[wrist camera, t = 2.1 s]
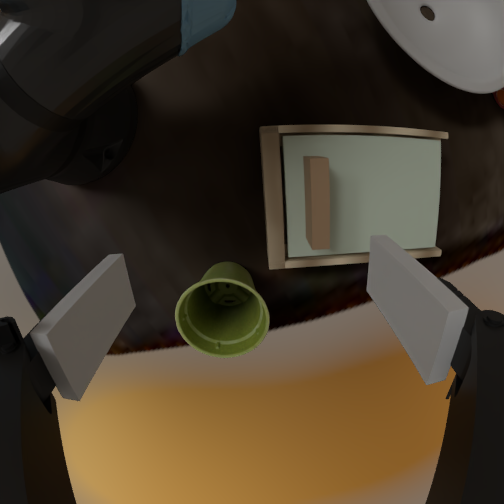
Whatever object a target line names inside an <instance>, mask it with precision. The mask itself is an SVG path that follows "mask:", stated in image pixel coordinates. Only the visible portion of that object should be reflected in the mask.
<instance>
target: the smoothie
mask: <svg viewBox="0 0 504 504" xmlns="http://www.w3.org/2000/svg"><path fill="white" fill-rule="evenodd" d="M493 96H494V98H495V100H496V102H497V104H498V105H499V106H500V107H501V108H502V109H504V87H503V88H502V89H500V90H498V91H495V92H493Z"/></svg>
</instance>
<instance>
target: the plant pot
mask: <svg viewBox="0 0 504 504" xmlns="http://www.w3.org/2000/svg"><path fill="white" fill-rule="evenodd" d="M208 283H210V288H211V291H210V290H208V286H207V284H208ZM226 284H229V285H230V287H229V288H227V287H226ZM225 300H233V301H234V300H235V301H234V302H232V303H226V302H225ZM175 320H176V325H177V328H178V330H179V332H180V334H181V336H182V337H183V338H184V339H185V341H186V342H187V343H188V344H189V345H191V346H192V347H193V348H195V349H196V350H198V351H200V352H202V353H204V354H206V355H210V356H214V357H221V358H229V357H237V356H240V355H243V354H246V353H248V352H250V351H252V350H253V349H255V348H256V347H257V346H258V345H259V344H260V343H261V342H262V341H263V339H264V338H265V336H266V334H267V332H268V329H269V323H270V317H269V311H268V308H267V305H266V303H265V301H264V300H263V298H262V297H261V296H260V294H259V293H258V292H257V291H256V290H255V287H254V284H253V280H252V278H251V275H250V274H249V272H248V271H247V270H246V269H245V268H243V267H242V266H241V265H239V264H237V263H234V262H221V263H218V264H215V265H213V266H212V267H211V268H210V269H209V270H208V271H207V272H206V273H205V275H204V276H203V278H202V279H201V280H200V282H198V283H196V284H194V285H192V286H191V287H190V288H188V289H187V290H186V291H185V292H184V293H183V295H182V296H181V297H180V299H179V301H178V303H177V306H176V311H175Z"/></svg>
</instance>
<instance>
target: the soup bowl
mask: <svg viewBox="0 0 504 504" xmlns="http://www.w3.org/2000/svg"><path fill="white" fill-rule="evenodd" d="M366 1H367V2H368V4H369V6H370V8H371V10H372V11H373V13H374V14H375V16H376V17H377V19H378V20H379V22H380V23H381V25H382V26H383V27H384V29H385V30H386V31H387V32H388V34H389V35H390V36H391V37H392V38H393V40H394V41H395V42H396V43H397V44H398V45H399V46H400V47H401V48H402V49H403V50H404V51H405V52H406V53H407V54H408V55H409V56H410V57H411V58H412V59H413V60H414V61H415V62H417V63H418V64H419V65H420V66H421V67H423V68H424V69H425V70H427V71H428V72H429V73H431V74H432V75H433V76H435V77H437V78H438V79H440V80H441V81H443V82H445V83H447V84H449V85H451V86H453V87H455V88H458V89H461V90H463V91H467V92H471V93H478V94H487V93H492V92H495V91H498V90H500V89H502V88H503V87H504V0H366ZM421 6H427V7H429V8H430V9H431V10H432V11H433V12H434V14H435V19H434V20H433V21H429V20H427V19H426V18H424V16H423V15H422V14H421V11H420V7H421Z"/></svg>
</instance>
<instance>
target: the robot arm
mask: <svg viewBox="0 0 504 504" xmlns="http://www.w3.org/2000/svg"><path fill="white" fill-rule="evenodd" d="M0 9H1V13H0V194H1V193H4V192H7V191H9V190H12V189H15V188H18V187H21V186H24V185H27V184H31V183H34V182H37V181H40V180H43V179H47V180H51V181H54V182H58V183H61V184H66V185H80V184H85V183H88V182H91V181H94V180H97V179H99V178H101V177H103V176H105V175H107V174H108V173H109V172H111V171H112V170H113V169H114V168H115V167H116V166H117V165H118V164H119V163H120V162H121V160H122V159H123V158H124V156H125V155H126V153H127V151H128V150H129V148H130V146H131V143H132V141H133V138H134V135H135V131H136V126H137V115H138V113H137V102H136V98H135V94H134V91H133V89H132V87H131V84H133V83H134V82H136V81H137V80H139V79H140V78H142V77H143V76H145V75H146V74H148V73H149V72H151V71H152V70H154V69H156V68H157V67H159V66H161V65H162V64H164V63H165V62H167V61H169V60H171V59H172V58H174V57H176V56H179V57H180V56H182V55H183V54H185V52H186V51H187V50H188V48H190V47H191V46H193V45H194V44H196V43H198V42H199V41H201V40H203V39H204V38H206V37H208V36H210V35H211V34H213V33H215V32H217V31H219V30H220V29H222V28H223V27H224V26H226V25H227V24H228V23H229V21H230V20H231V18H232V17H233V15H234V12H235V9H236V0H0ZM367 292H368V293H369V295H370V296H371V298H372V299H373V301H374V302H375V304H376V305H377V307H378V308H379V310H380V311H381V313H382V314H383V316H384V317H385V319H386V320H387V322H388V323H389V325H390V326H391V328H392V330H393V331H394V333H395V334H396V336H397V337H398V339H399V340H400V342H401V344H402V346H403V347H404V348H405V350H406V352H407V354H408V355H409V357H410V358H411V360H412V362H413V363H414V365H415V367H416V368H417V370H418V372H419V373H420V375H421V377H422V379H423V380H424V382H425V383H426V385H429V384H432V383H436V382H439V381H443V380H445V379H446V377H447V374H448V371H449V369H450V366H452V368H453V369H454V371H455V372H456V375H455V378H454V380H453V383H452V385H451V387H450V390H449V392H448V394H447V397H446V399H449V397H450V395H451V399H450V406H449V411H448V417H447V423H446V428H445V434H444V438H443V443H442V447H441V451H440V456H439V460H438V464H437V467H436V471H435V475H434V478H433V482H432V485H431V488H430V491H429V495H428V498H427V501H426V504H504V315H503V314H501V313H499V312H496V311H493V310H484V311H481V310H479V309H478V308H477V307H476V306H475V305H474V304H473V303H472V302H471V301H470V300H469V299H468V298H467V297H465V296H463V294H462V293H461V292H460V291H458V290H457V288H455V287H454V286H453V285H452V284H451V283H450V282H448V281H445V280H444V279H441V278H436V277H435V276H434V275H433V274H432V273H431V272H429V271H428V270H427V269H426V268H425V267H424V266H423V265H421V264H420V263H419V262H418V261H417V260H416V259H414V258H413V257H412V256H411V255H410V254H409V253H407V252H406V251H405V250H404V249H403V248H401V247H400V246H399V245H398V244H397V243H395V242H394V241H393V240H392V239H390V238H389V237H388V236H387V235H373V236H370V254H369V269H368V281H367ZM135 306H136V305H135V301H134V297H133V293H132V289H131V286H130V282H129V277H128V273H127V269H126V265H125V260H124V256H123V254H111V255H108V256H107V257H106V258H105V259H104V260H103V261H102V262H100V263H99V264H98V265H97V266H96V267H95V268H94V269H93V270H92V271H91V272H90V273H89V274H88V275H87V276H86V277H84V278H83V279H82V280H81V281H80V282H79V283H78V284H77V285H76V286H75V287H74V288H73V289H72V290H71V291H70V292H69V293H68V294H67V295H66V296H65V297H64V298H63V299H62V300H61V301H60V302H59V303H58V304H57V305H56V306H55V307H54V308H52V309H51V310H50V311H49V312H48V313H47V314H46V315H45V316H44V318H42V319H41V320H40V321H39V323H38V324H37V325H36V326H35V327H34V328H33V329H32V330H31V331H30V332H29V333H28V334H27V335H26V336H25V338H24V339H23V337H22V335H21V333H20V330H19V328H18V326H17V324H16V321H15V319H14V318H13V317H4V318H0V504H76V501H75V497H74V493H73V490H72V486H71V483H70V478H69V474H68V470H67V465H66V461H65V456H64V452H63V446H62V440H61V435H60V428H59V422H58V415H57V407H56V400H55V398H54V396H53V394H52V393H51V392H52V391H53V389H54V388H55V386H56V387H57V389H58V391H59V392H60V394H61V396H62V397H63V398H66V399H71V400H77V401H80V399H81V398H82V396H83V394H84V392H85V390H86V389H87V387H88V385H89V383H90V381H91V380H92V378H93V376H94V374H95V372H96V371H97V369H98V367H99V365H100V364H101V362H102V360H103V359H104V357H105V355H106V354H107V352H108V350H109V348H110V347H111V345H112V343H113V342H114V340H115V338H116V337H117V335H118V333H119V332H120V330H121V329H122V327H123V325H124V324H125V322H126V320H127V319H128V317H129V316H130V314H131V312H132V311H133V309H134V308H135Z"/></svg>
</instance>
